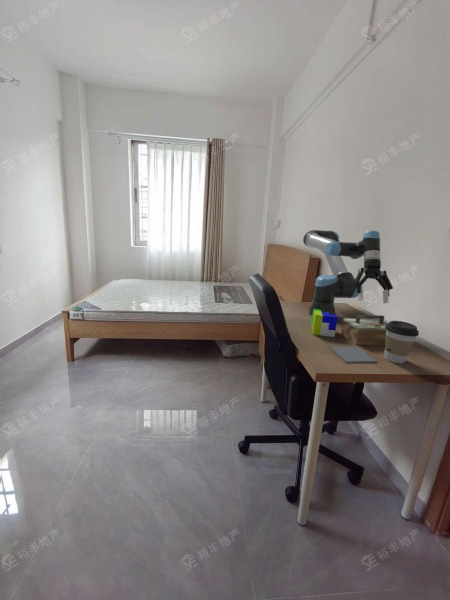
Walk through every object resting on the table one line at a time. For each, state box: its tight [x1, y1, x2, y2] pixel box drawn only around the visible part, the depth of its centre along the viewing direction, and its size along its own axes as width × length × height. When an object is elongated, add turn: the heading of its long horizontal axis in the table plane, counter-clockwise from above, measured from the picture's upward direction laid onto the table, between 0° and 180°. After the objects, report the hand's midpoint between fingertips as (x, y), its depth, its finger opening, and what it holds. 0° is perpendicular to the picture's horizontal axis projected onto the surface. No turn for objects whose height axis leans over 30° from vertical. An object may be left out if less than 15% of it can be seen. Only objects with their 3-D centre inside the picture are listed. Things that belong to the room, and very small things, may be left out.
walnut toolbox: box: [340, 314, 389, 346], centre depth 129 cm, size 13×19×12 cm
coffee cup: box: [384, 320, 420, 364], centre depth 109 cm, size 11×11×15 cm
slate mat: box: [329, 346, 378, 364], centre depth 112 cm, size 13×13×1 cm
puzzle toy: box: [310, 309, 339, 338], centre depth 135 cm, size 10×10×10 cm
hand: (373, 301), depth 135 cm, fingers open, 13 cm apart
